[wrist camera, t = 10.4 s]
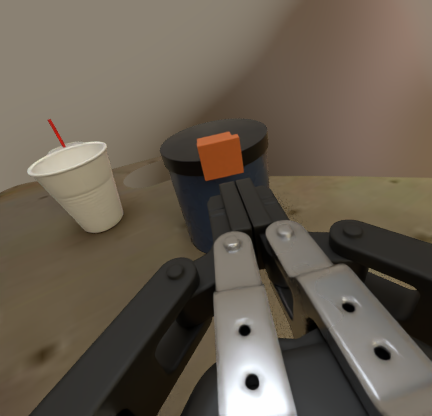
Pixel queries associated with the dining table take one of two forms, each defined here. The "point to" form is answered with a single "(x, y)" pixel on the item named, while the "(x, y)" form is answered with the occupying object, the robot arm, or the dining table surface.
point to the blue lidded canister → (193, 174)
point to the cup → (82, 184)
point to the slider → (220, 155)
